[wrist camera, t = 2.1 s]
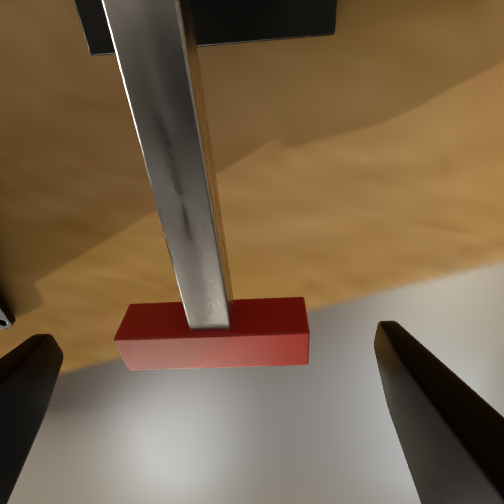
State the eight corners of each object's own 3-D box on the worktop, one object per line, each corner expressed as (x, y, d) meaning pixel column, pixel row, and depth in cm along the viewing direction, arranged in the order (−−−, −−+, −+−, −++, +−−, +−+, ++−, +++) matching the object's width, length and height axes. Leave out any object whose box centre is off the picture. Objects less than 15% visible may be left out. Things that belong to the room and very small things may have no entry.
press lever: (301, 315, 10) (311, 383, 8) (146, 321, 11) (120, 388, 9) (315, -491, 3) (386, -1158, 2) (-123, -411, 4) (-540, -881, 2)
